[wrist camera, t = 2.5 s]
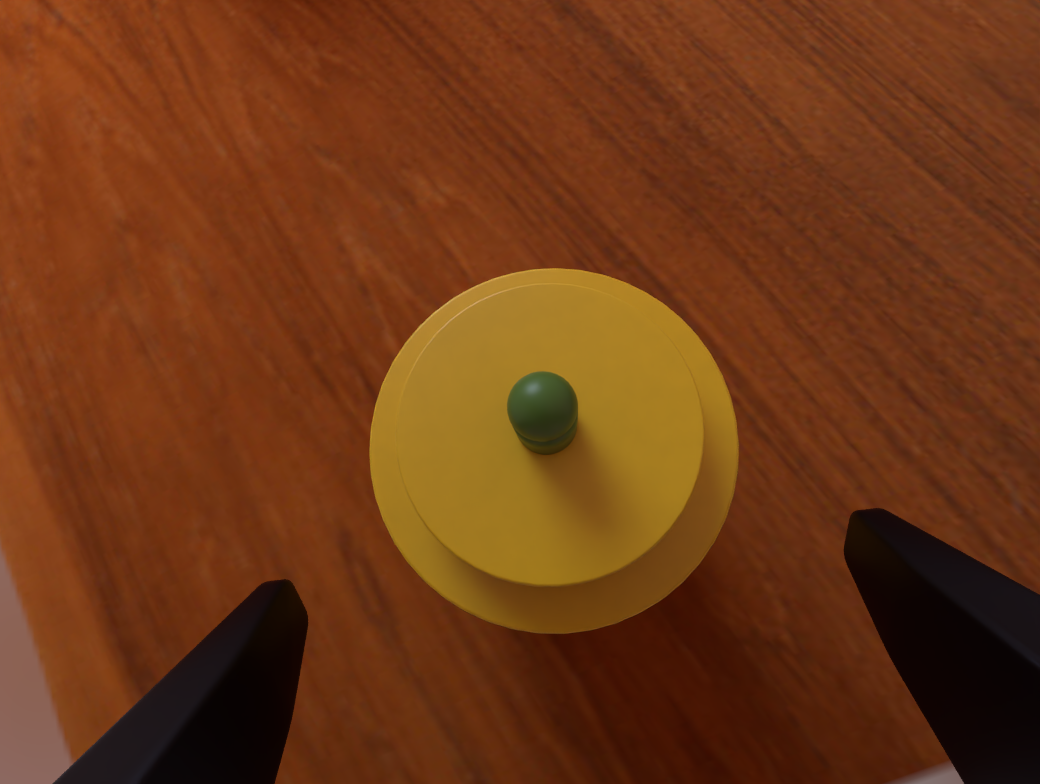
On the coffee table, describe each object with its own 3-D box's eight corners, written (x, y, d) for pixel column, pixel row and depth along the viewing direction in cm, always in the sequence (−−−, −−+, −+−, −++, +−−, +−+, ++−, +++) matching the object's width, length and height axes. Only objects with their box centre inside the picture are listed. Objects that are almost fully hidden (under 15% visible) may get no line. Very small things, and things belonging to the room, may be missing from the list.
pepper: (693, 550, 18) (902, 562, 7) (496, 619, 18) (365, 750, 7) (616, 362, 20) (676, 121, 8) (437, 425, 20) (257, 268, 8)
